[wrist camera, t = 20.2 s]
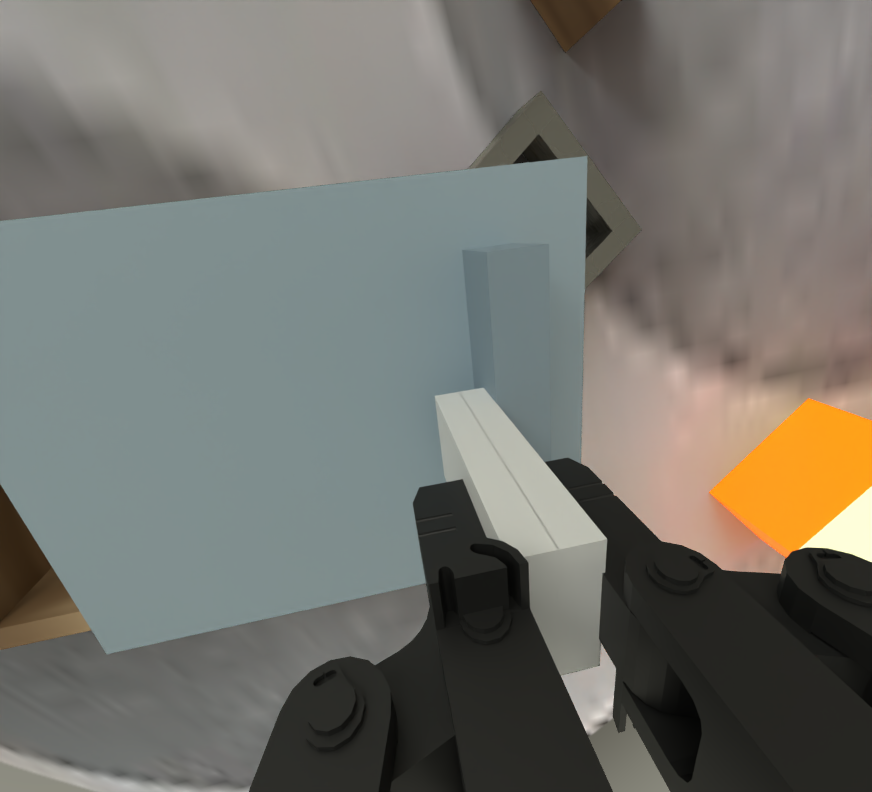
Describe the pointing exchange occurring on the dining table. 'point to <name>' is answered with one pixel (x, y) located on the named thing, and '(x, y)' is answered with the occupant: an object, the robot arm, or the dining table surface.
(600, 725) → the dining table surface
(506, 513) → the robot arm
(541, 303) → the lid
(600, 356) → the dining table surface
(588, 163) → the socket
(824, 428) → the orange juice
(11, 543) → the toolbox
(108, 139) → the dining table surface
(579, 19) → the pin
